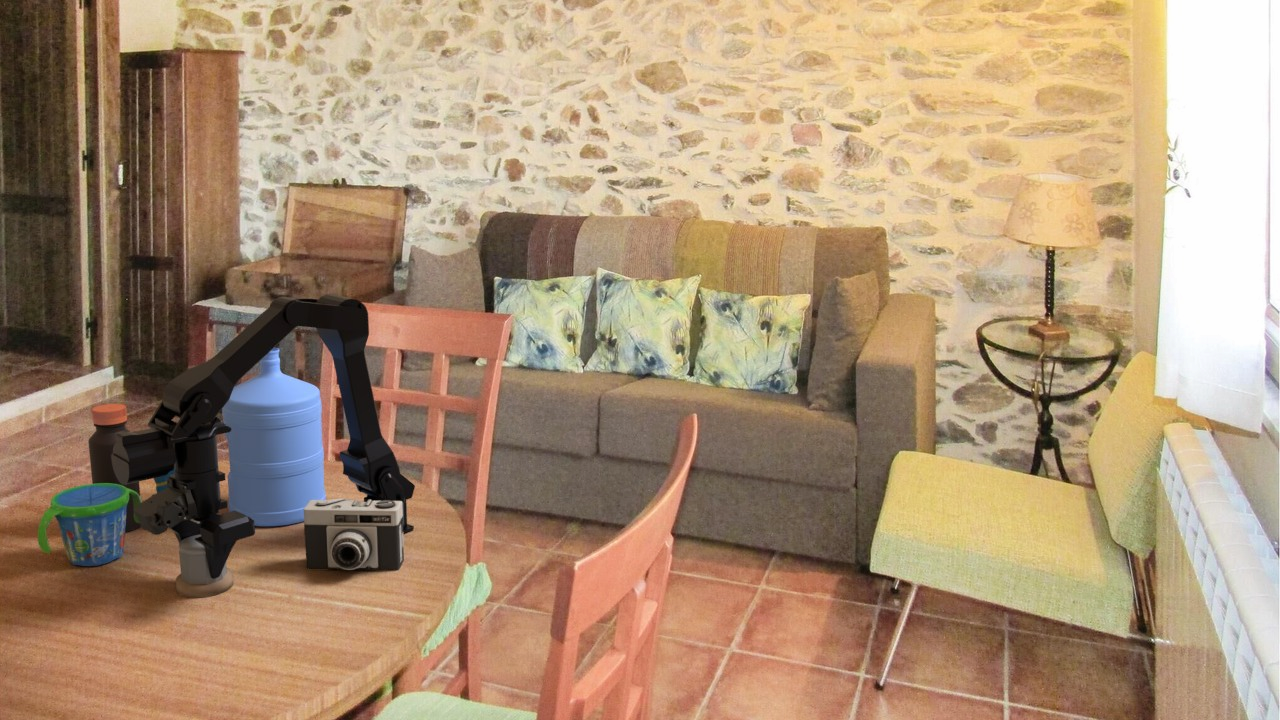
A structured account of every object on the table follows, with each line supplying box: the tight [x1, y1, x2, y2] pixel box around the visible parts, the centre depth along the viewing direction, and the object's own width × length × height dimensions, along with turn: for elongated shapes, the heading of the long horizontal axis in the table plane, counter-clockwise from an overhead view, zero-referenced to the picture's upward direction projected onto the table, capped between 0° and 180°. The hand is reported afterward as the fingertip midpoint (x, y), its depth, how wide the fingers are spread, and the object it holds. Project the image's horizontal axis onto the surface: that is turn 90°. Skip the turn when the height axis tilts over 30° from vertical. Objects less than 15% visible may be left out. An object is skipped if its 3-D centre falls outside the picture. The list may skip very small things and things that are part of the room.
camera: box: [303, 498, 405, 572], centre depth 164 cm, size 14×8×10 cm, turn 91°
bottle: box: [87, 403, 142, 533], centre depth 177 cm, size 7×7×20 cm
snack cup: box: [37, 483, 143, 567], centre depth 166 cm, size 16×10×10 cm
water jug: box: [221, 347, 327, 527], centre depth 185 cm, size 16×16×28 cm
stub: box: [175, 567, 234, 599], centre depth 158 cm, size 8×8×5 cm
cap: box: [178, 535, 228, 585], centre depth 158 cm, size 6×6×5 cm
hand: (204, 571), depth 158 cm, fingers closed on cap, 6 cm apart
